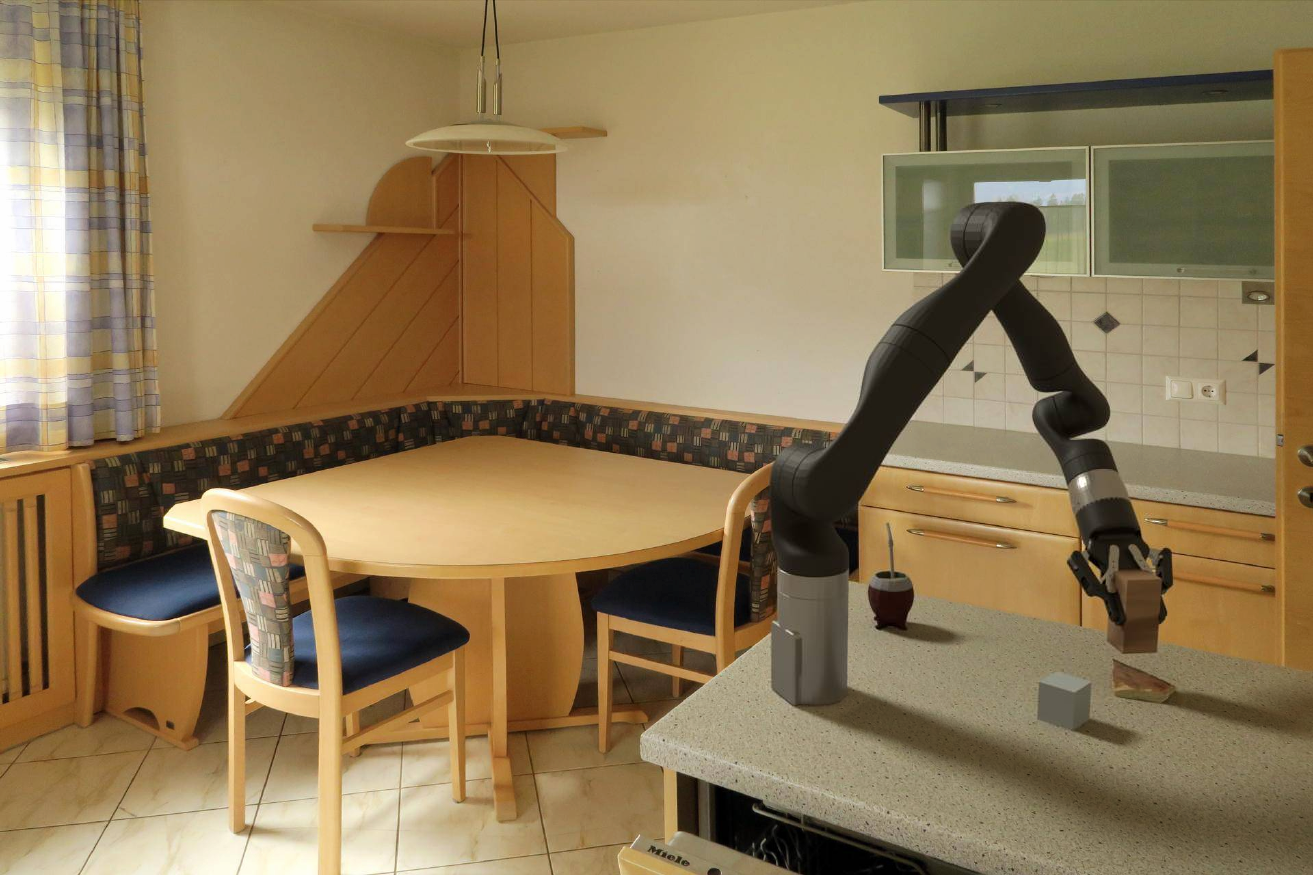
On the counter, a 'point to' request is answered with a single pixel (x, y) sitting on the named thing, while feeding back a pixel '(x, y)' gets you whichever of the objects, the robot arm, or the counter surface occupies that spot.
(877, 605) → the mate gourd
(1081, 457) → the robot arm
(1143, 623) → the walnut block
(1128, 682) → the shard
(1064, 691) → the grey-blue block
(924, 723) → the counter surface
